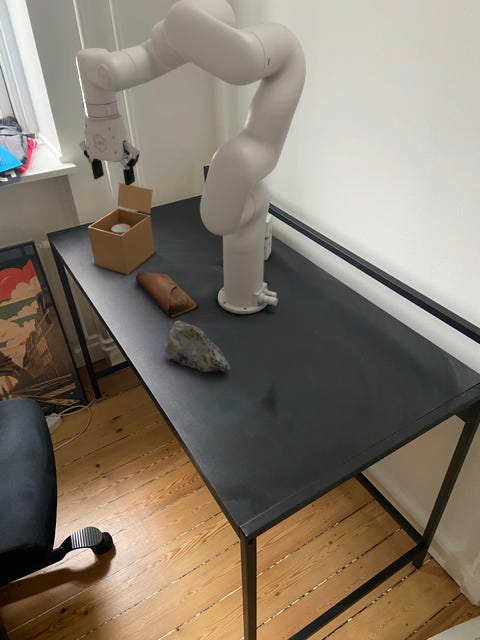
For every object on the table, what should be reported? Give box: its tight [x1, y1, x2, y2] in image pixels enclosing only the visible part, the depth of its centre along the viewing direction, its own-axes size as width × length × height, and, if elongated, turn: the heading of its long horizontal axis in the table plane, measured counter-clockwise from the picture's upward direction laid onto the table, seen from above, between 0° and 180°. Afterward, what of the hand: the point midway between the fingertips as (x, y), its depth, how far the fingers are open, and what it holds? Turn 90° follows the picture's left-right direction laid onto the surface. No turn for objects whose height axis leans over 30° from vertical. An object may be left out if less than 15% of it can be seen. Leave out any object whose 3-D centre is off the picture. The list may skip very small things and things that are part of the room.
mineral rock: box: [165, 320, 232, 373], centre depth 105 cm, size 13×11×10 cm
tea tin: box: [111, 224, 131, 235], centre depth 140 cm, size 5×5×9 cm
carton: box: [87, 207, 156, 275], centre depth 140 cm, size 13×11×11 cm
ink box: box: [264, 213, 274, 261], centre depth 142 cm, size 9×5×12 cm, turn 73°
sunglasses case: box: [135, 271, 198, 318], centre depth 128 cm, size 18×7×7 cm
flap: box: [117, 182, 154, 214], centre depth 140 cm, size 6×11×1 cm
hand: (114, 180), depth 129 cm, fingers open, 9 cm apart
